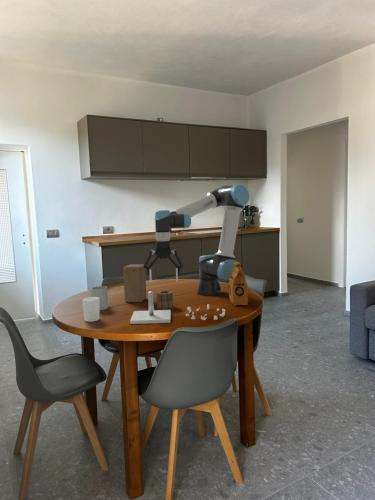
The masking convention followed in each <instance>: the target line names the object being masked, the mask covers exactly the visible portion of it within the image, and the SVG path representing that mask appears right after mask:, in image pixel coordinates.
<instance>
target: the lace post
mask: <svg viewBox="0 0 375 500" xmlns="http://www.w3.org/2000/svg"><path fill="white" fill-rule="evenodd" d="M147 299H148V301H147V302H148V303H147V305H148V311H149V316H153V315H154V310H155V307H154V305H155V304H154V292H153V291H148V292H147Z"/></svg>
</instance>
